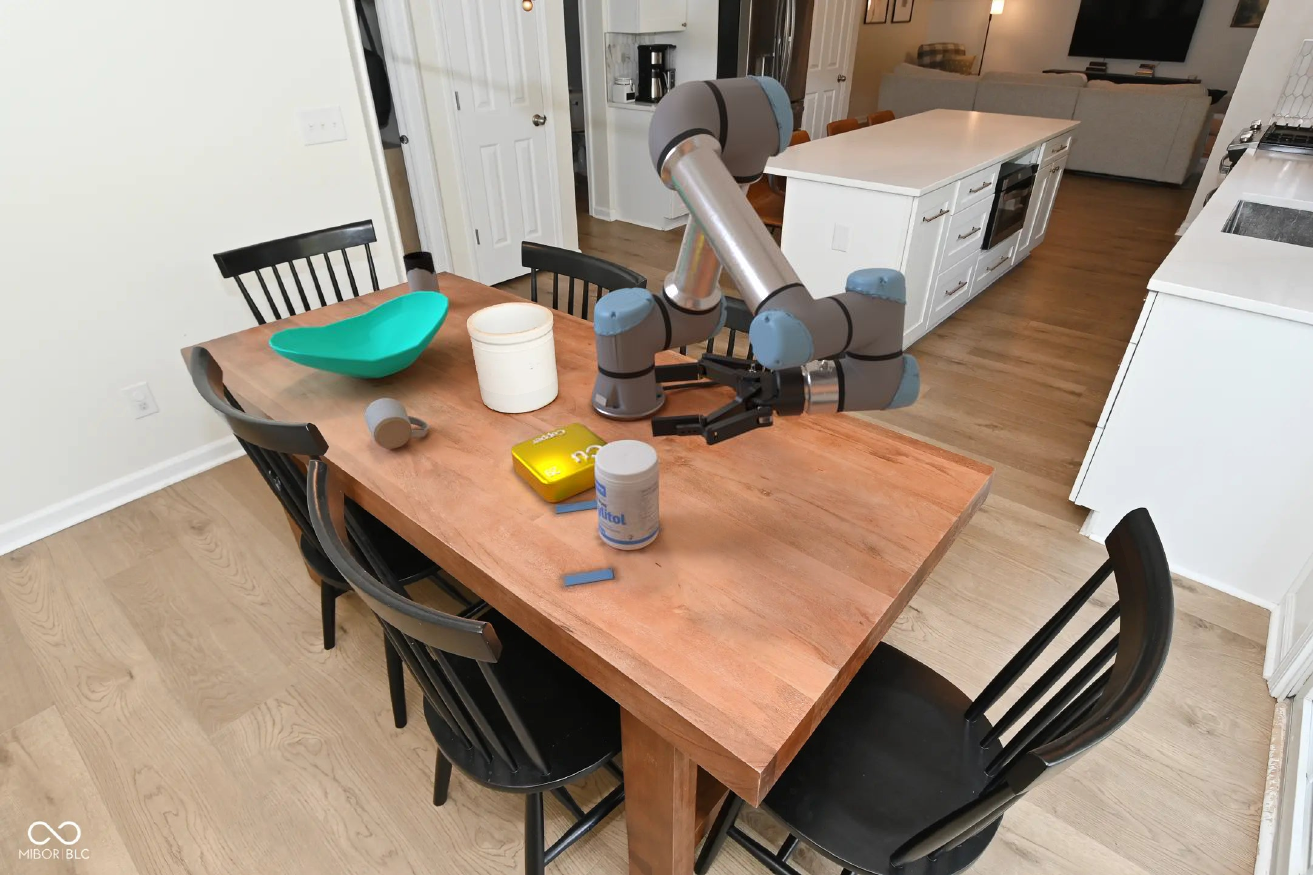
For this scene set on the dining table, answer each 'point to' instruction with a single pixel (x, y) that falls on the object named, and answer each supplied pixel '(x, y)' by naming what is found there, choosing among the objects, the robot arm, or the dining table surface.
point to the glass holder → (421, 272)
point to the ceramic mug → (392, 423)
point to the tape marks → (590, 575)
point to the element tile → (559, 461)
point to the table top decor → (368, 338)
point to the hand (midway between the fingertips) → (653, 399)
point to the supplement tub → (627, 494)
